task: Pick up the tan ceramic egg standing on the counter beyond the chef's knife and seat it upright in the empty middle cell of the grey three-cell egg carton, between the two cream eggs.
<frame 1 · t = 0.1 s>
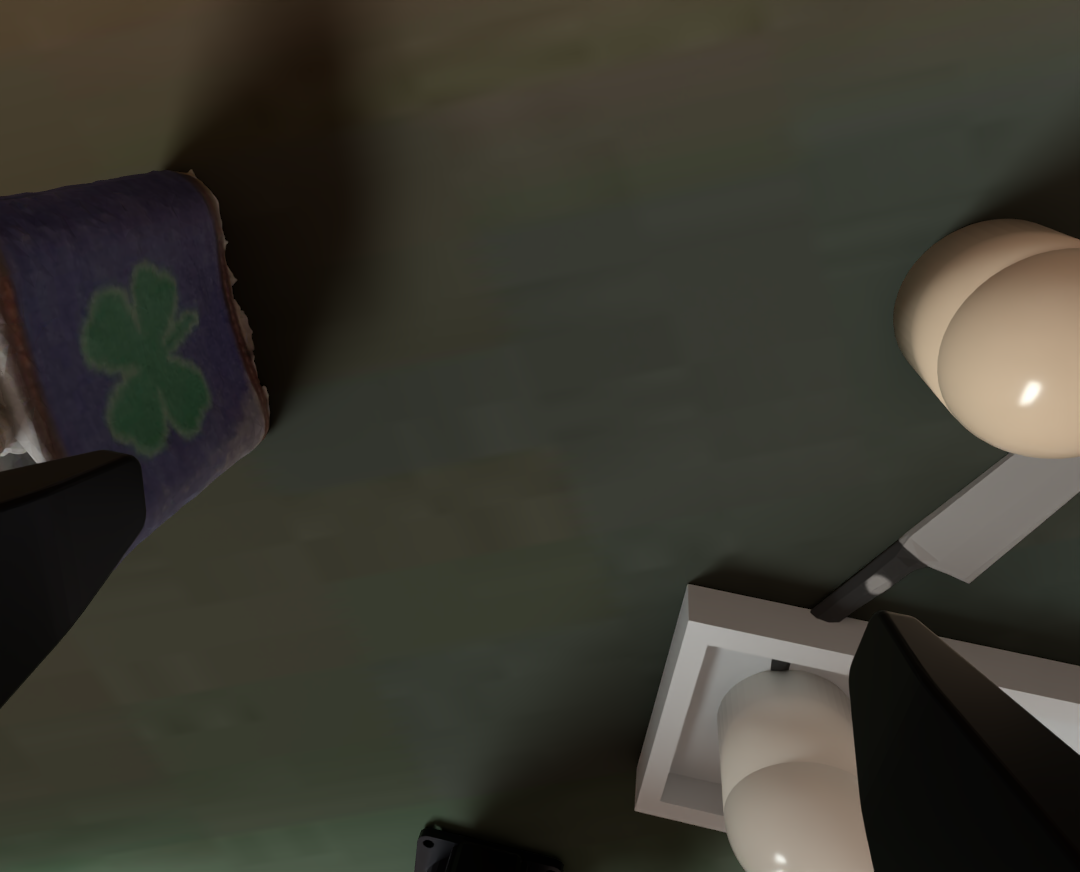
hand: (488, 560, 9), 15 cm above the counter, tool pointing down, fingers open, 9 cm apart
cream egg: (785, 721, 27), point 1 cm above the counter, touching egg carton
tan egg: (986, 307, 21), on the counter
egg carton: (1016, 761, 27), on the counter
chef's knife: (997, 503, 24), on the counter
flask: (214, 313, 25), on the counter
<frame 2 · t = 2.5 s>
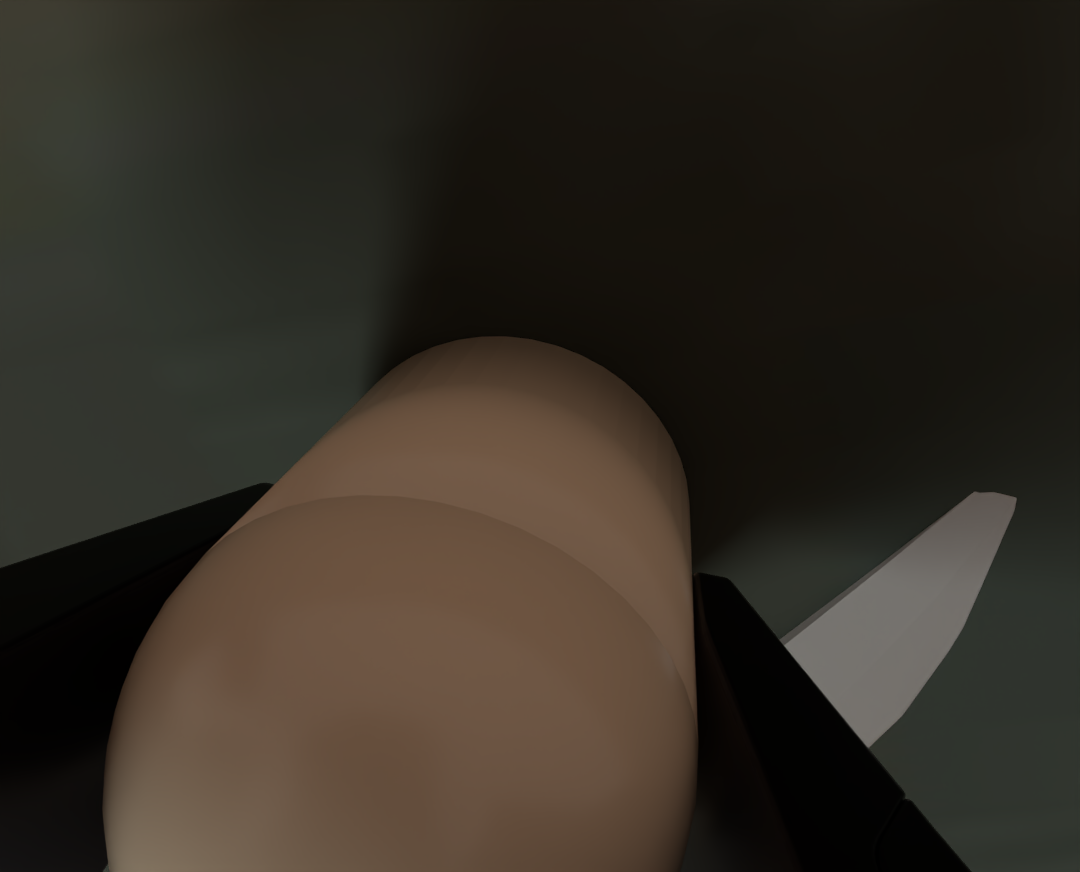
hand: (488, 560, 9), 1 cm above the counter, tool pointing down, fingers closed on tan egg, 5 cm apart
tan egg: (508, 507, 10), on the counter, touching gripper
chef's knife: (640, 822, 13), on the counter
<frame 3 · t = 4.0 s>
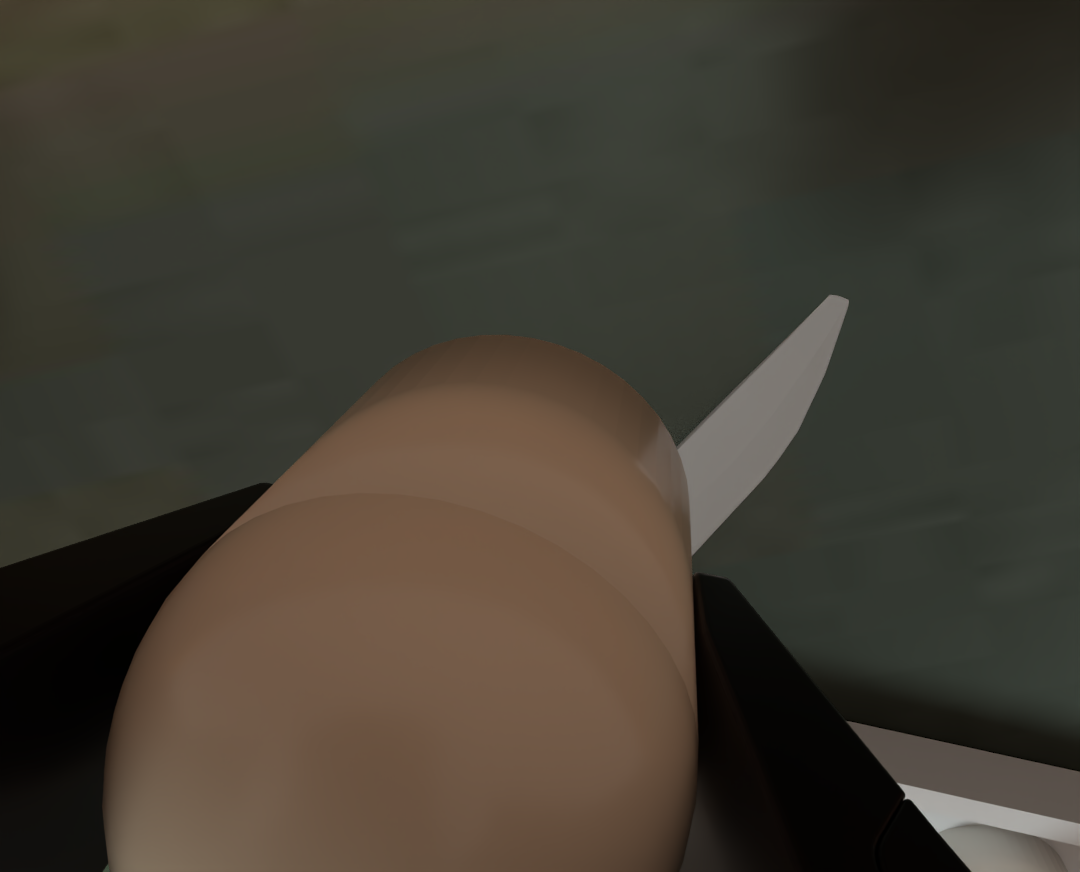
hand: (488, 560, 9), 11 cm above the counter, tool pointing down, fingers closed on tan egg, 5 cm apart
tan egg: (508, 506, 10), point 10 cm above the counter, touching gripper
egg carton: (716, 801, 25), on the counter
chef's knife: (655, 530, 22), on the counter
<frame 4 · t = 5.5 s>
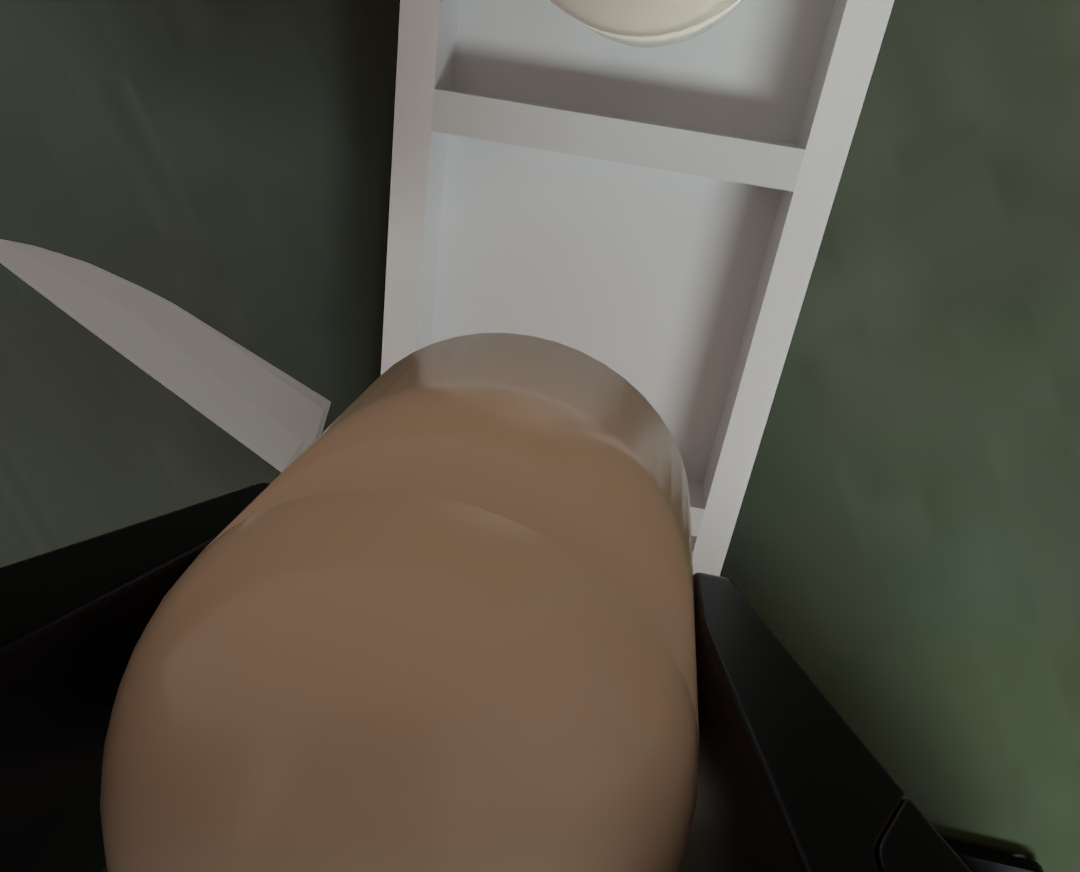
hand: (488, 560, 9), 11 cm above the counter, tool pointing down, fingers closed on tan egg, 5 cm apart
tan egg: (508, 504, 10), point 10 cm above the counter, touching gripper
egg carton: (587, 311, 19), on the counter
chef's knife: (249, 375, 22), on the counter
when the fingers open (4 cm above the counter, at t = 7.2 s): tan egg drops 2 cm, resting on egg carton.
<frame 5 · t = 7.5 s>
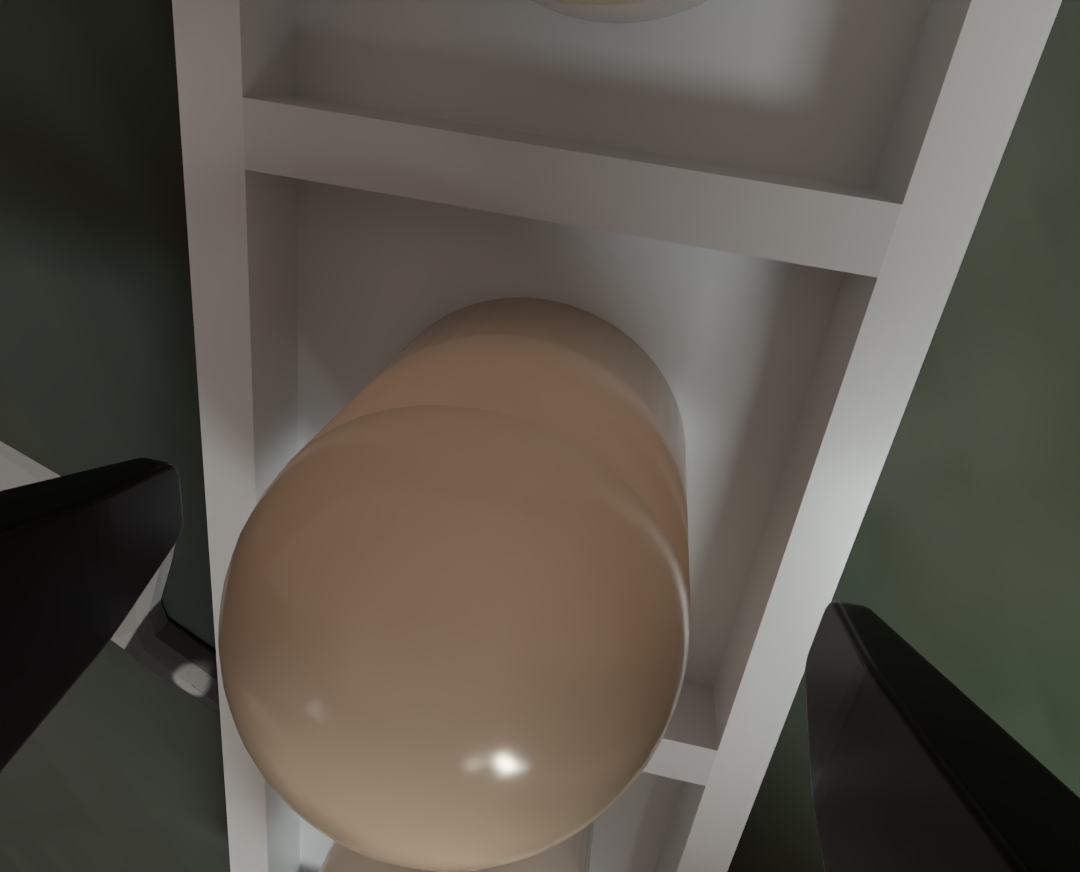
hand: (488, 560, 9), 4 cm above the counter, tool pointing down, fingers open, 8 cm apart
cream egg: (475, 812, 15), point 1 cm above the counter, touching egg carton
tan egg: (527, 450, 12), point 1 cm above the counter, touching egg carton
egg carton: (535, 436, 12), on the counter
chef's knife: (62, 502, 15), on the counter
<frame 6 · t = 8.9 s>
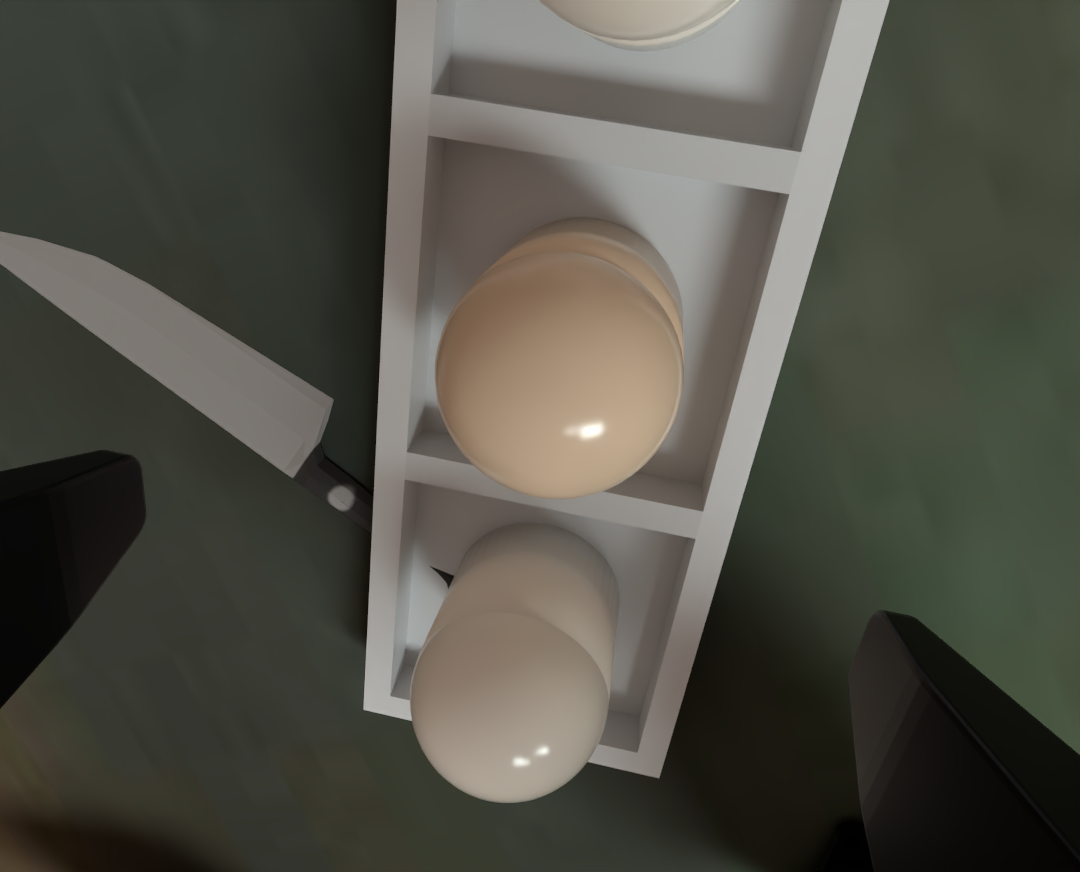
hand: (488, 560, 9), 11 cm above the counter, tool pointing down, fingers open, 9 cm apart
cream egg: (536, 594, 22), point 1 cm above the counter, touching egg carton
tan egg: (581, 319, 18), point 1 cm above the counter, touching egg carton
egg carton: (585, 314, 19), on the counter
chef's knife: (250, 375, 22), on the counter
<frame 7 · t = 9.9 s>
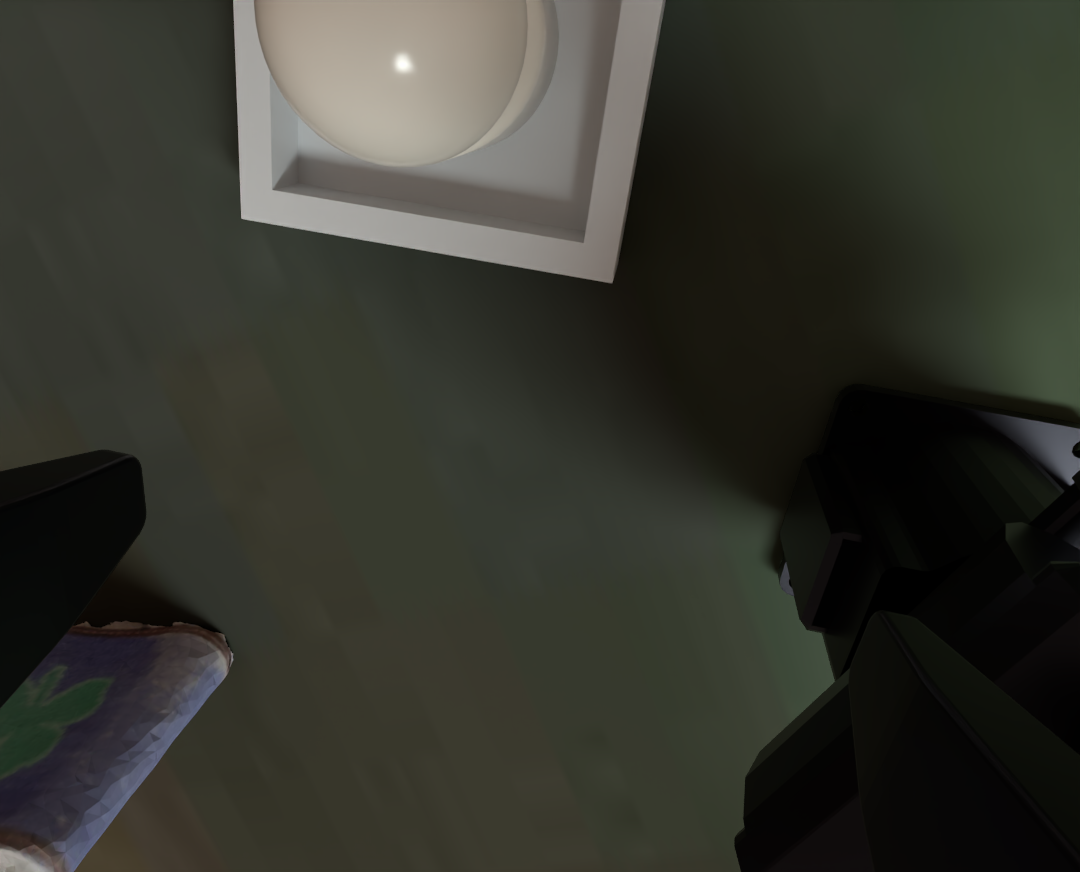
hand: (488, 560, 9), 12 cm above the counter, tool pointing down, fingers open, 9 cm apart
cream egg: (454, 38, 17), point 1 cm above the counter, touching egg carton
flask: (127, 645, 28), on the counter
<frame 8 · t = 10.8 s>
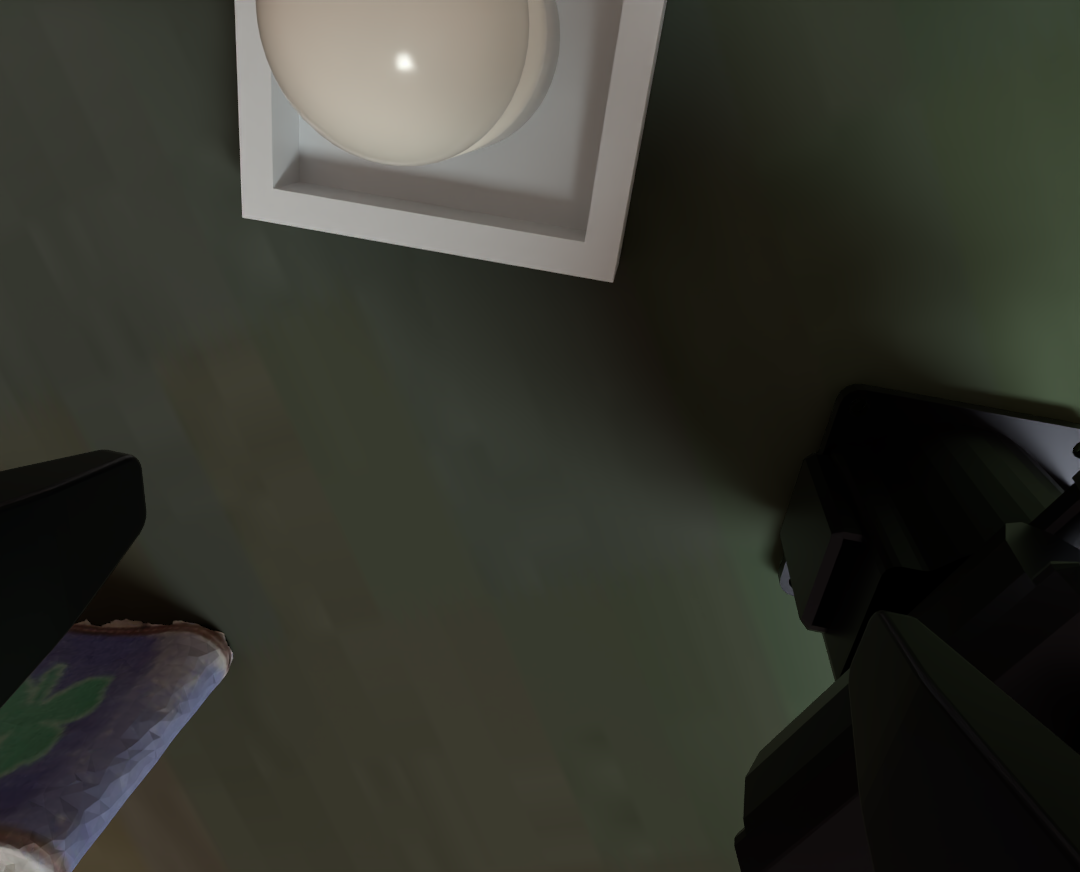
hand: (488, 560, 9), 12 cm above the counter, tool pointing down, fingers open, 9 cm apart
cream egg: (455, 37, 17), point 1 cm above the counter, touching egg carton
flask: (127, 643, 28), on the counter
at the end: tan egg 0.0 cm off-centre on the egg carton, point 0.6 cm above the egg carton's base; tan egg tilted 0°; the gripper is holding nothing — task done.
